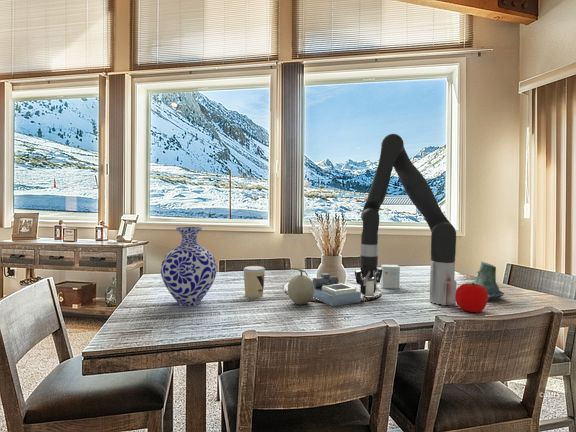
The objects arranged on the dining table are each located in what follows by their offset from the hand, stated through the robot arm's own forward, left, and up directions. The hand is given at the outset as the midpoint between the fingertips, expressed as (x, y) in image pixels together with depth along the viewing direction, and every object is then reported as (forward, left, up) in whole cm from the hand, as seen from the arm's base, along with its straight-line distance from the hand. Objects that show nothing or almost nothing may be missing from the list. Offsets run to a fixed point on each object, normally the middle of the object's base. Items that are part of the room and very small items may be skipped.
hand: (368, 293), depth 165 cm
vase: (+23, +72, -2) cm, 76 cm away
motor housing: (+3, +16, -1) cm, 16 cm away
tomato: (-34, -22, -2) cm, 41 cm away
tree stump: (-21, -44, -2) cm, 49 cm away
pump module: (0, 0, -1) cm, 1 cm away
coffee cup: (+23, +44, -2) cm, 50 cm away
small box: (+9, -21, -2) cm, 23 cm away
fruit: (+3, +32, -2) cm, 32 cm away
